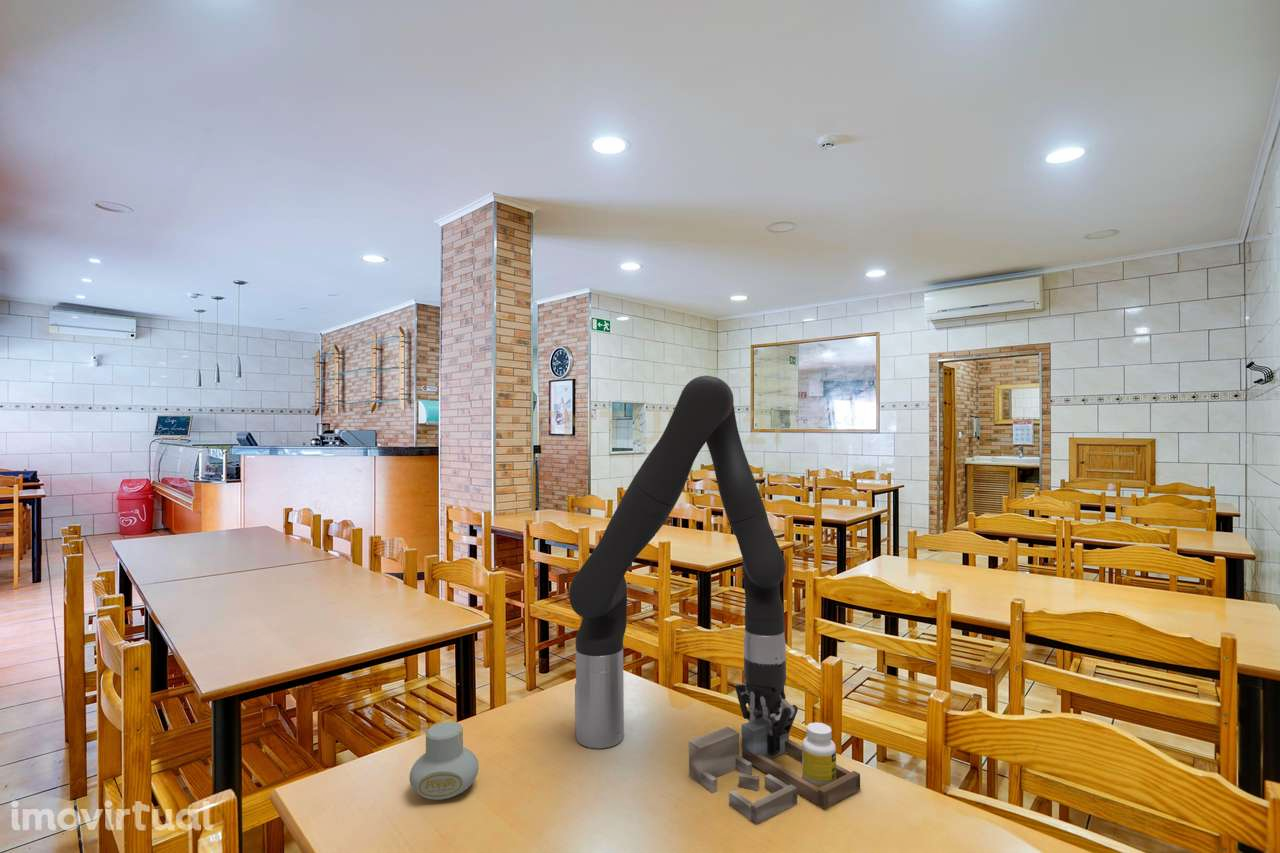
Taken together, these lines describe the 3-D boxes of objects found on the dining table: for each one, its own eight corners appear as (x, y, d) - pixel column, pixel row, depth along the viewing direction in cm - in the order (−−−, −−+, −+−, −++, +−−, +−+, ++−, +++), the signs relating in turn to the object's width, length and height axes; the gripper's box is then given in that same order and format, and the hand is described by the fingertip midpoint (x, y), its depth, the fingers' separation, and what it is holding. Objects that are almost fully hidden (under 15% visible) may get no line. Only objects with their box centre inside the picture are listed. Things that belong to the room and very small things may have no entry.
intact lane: (741, 758, 110) (741, 724, 110) (776, 743, 115) (776, 711, 116) (824, 808, 95) (823, 769, 95) (860, 789, 100) (859, 752, 101)
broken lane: (689, 776, 105) (688, 740, 105) (728, 759, 110) (727, 726, 110) (756, 824, 92) (756, 784, 92) (797, 803, 97) (796, 765, 97)
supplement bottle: (838, 798, 99) (837, 737, 99) (803, 794, 100) (802, 734, 100) (834, 779, 104) (833, 721, 104) (801, 776, 105) (800, 718, 105)
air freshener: (404, 807, 97) (404, 744, 97) (415, 778, 105) (415, 720, 106) (475, 801, 99) (475, 738, 99) (481, 773, 107) (480, 715, 107)
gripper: (723, 648, 116) (724, 740, 115) (779, 671, 104) (780, 774, 104) (751, 640, 120) (752, 729, 120) (809, 661, 108) (810, 760, 108)
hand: (765, 749), depth 112 cm, fingers closed on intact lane, 3 cm apart
